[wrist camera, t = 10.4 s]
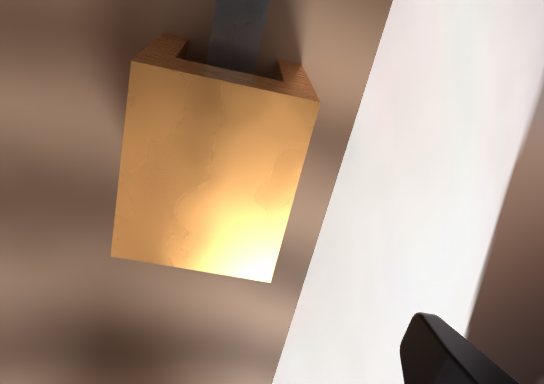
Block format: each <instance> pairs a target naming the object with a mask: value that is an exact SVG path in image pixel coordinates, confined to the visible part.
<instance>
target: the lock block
mask: <svg viewBox="0 0 544 384" xmlns="http://www.w3.org/2000/svg"><path fill="white" fill-rule="evenodd" d="M187 45H188V38H183V37H179V36H175V35H170V34H166V33H162V34H161V35H159V36H158V37H157V38H156V39H155V40H154V41H153V42H152V43H151V44H149V45H148V46H147V47H146V48H145V49H144V50H143V51H142V52H140V53H139V54H138V55H137V56H136V57H135V58H134V59H133V60H132V61H131V67H130V77H129V86H128V96H127V105H126V115H125V124H124V134H123V143H122V152H121V162H120V171H119V181H118V190H117V200H116V209H115V219H114V228H113V237H112V247H111V257H117V258H124V259H130V260H136V261H142V262H148V263H154V264H160V265H166V266H173V267H179V268H185V269H191V270H197V271H203V272H209V273H215V274H221V275H228V276H234V277H240V278H246V279H252V280H258V281H264V282H271V278H272V275H273V271H274V267H275V264H276V260H277V257H278V253H279V250H280V246H281V242H282V239H283V235H284V232H285V228H286V224H287V221H288V217H289V214H290V210H291V207H292V203H293V199H294V196H295V192H296V189H297V185H298V181H299V178H300V174H301V171H302V167H303V164H304V160H305V156H306V153H307V149H308V146H309V142H310V138H311V135H312V131H313V128H314V124H315V121H316V117H317V113H318V110H319V106H320V103H321V102H320V100H319V98H318V96H317V94H316V92H315V90H314V88H313V86H312V84H311V82H310V80H309V78H308V76H307V74H306V72H305V70H304V68H303V66H302V65H301V64H297V63H293V62H288V61H284V60H280V59H278V60H277V64H276V69H275V73H274V77H273V79H269V78H264V77H260V76H255V75H251V74H246V73H242V72H237V71H233V70H228V69H224V68H219V67H215V66H210V65H206V64H202V63H197V62H193V61H188V60H185V58H186V52H187Z"/></svg>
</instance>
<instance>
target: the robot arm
mask: <svg viewBox="0 0 544 384" xmlns="http://www.w3.org/2000/svg"><path fill="white" fill-rule="evenodd" d="M400 358H401V364H402V371H403V377H404V384H519V383H518V382H517V381H516V380H515V379H513V378H512V377H511V376H510V375H508V374H507V373H506V372H505V371H504V370H503V369H501V368H500V367H499V366H498V365H496V364H495V363H494V362H493V361H492V360H490V359H489V358H488V357H487V356H485V355H484V354H483V353H482V352H481V351H480V350H478V349H477V348H476V347H475V346H473V345H472V344H471V343H470V342H469V341H467V340H466V339H465V338H464V337H463V336H461V335H460V334H459V333H458V332H456V331H455V330H454V329H453V328H452V327H450V326H449V325H448V324H447V323H446V322H444V321H443V320H442V319H441V318H440V317H438V316H436V315H433V314H427V313H421V312H418V313H416V314H415V315H414V316H413V317H412V319H411V322H410V324H409V326H408V328H407V330H406V333H405V335H404V337H403V339H402V342H401V345H400Z"/></svg>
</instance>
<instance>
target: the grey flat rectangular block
mask: <svg viewBox="0 0 544 384" xmlns="http://www.w3.org/2000/svg"><path fill="white" fill-rule="evenodd" d="M269 1H270V0H217V1H216V7H215V13H214V19H213V25H212V31H211V36H210V42H209V48H208V54H207V60H206V65H210V66H215V67H219V68H224V69H228V70H233V71H237V72H242V73H246V74H251V75H254V71H255V67H256V62H257V57H258V53H259V48H260V43H261V39H262V34H263V29H264V25H265V20H266V15H267V11H268V6H269Z"/></svg>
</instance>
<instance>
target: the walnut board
mask: <svg viewBox="0 0 544 384" xmlns="http://www.w3.org/2000/svg"><path fill="white" fill-rule="evenodd" d="M216 1H217V0H0V384H272V382H273V378H274V375H275V372H276V369H277V366H278V363H279V359H280V356H281V353H282V350H283V347H284V344H285V340H286V337H287V334H288V331H289V328H290V324H291V321H292V318H293V315H294V312H295V309H296V305H297V302H298V299H299V296H300V293H301V290H302V286H303V283H304V280H305V277H306V274H307V271H308V267H309V264H310V261H311V258H312V255H313V252H314V248H315V245H316V242H317V239H318V236H319V233H320V229H321V226H322V223H323V220H324V217H325V214H326V210H327V207H328V204H329V201H330V198H331V195H332V191H333V188H334V185H335V182H336V179H337V176H338V172H339V169H340V166H341V163H342V160H343V156H344V153H345V150H346V147H347V144H348V141H349V137H350V134H351V131H352V128H353V125H354V122H355V118H356V115H357V112H358V109H359V106H360V103H361V99H362V96H363V93H364V90H365V87H366V84H367V80H368V77H369V74H370V71H371V68H372V65H373V61H374V58H375V55H376V52H377V49H378V46H379V42H380V39H381V36H382V33H383V30H384V27H385V23H386V20H387V17H388V14H389V11H390V8H391V4H392V1H393V0H270V1H269V6H268V11H267V15H266V20H265V25H264V29H263V34H262V39H261V43H260V48H259V53H258V57H257V62H256V67H255V71H254V75H255V76H260V77H264V78H269V79H273V77H274V73H275V69H276V64H277V60H278V59H280V60H284V61H288V62H293V63H297V64H301V65H302V66H303V68H304V70H305V72H306V74H307V76H308V78H309V80H310V82H311V84H312V86H313V88H314V90H315V92H316V94H317V96H318V98H319V100H320V102H321V103H320V106H319V110H318V113H317V117H316V121H315V124H314V128H313V131H312V135H311V138H310V142H309V146H308V149H307V153H306V156H305V160H304V164H303V167H302V171H301V174H300V178H299V181H298V185H297V189H296V192H295V196H294V199H293V203H292V207H291V210H290V214H289V217H288V221H287V224H286V228H285V232H284V235H283V239H282V242H281V246H280V250H279V253H278V257H277V260H276V264H275V267H274V271H273V275H272V278H271V282H264V281H258V280H252V279H246V278H240V277H234V276H228V275H221V274H215V273H209V272H203V271H197V270H191V269H185V268H179V267H173V266H166V265H160V264H154V263H148V262H142V261H136V260H130V259H124V258H117V257H111V247H112V237H113V228H114V219H115V209H116V200H117V190H118V181H119V171H120V162H121V152H122V143H123V134H124V124H125V115H126V105H127V96H128V86H129V77H130V67H131V61H132V60H133V59H134V58H135V57H136V56H137V55H138V54H139V53H140V52H142V51H143V50H144V49H145V48H146V47H147V46H148V45H149V44H151V43H152V42H153V41H154V40H155V39H156V38H157V37H158V36H159V35H161V34H162V33H166V34H170V35H175V36H179V37H183V38H188V45H187V52H186V58H185V60H188V61H193V62H197V63H202V64H206V60H207V54H208V48H209V42H210V36H211V31H212V25H213V19H214V13H215V7H216Z"/></svg>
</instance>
